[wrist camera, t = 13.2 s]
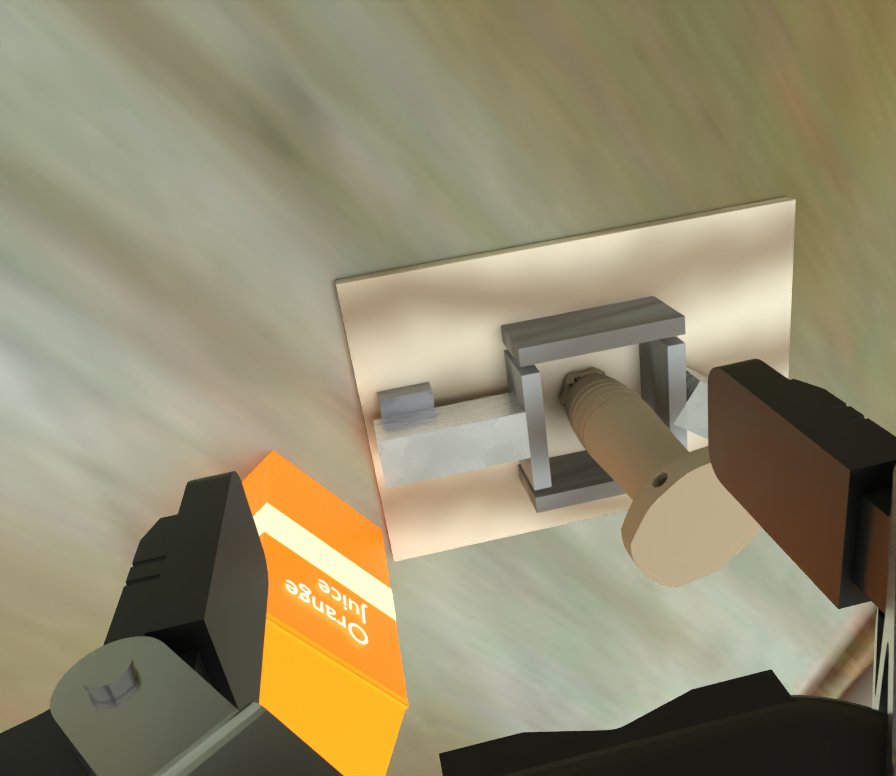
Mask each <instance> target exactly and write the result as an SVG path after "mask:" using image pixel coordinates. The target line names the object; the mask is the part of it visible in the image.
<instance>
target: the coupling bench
mask: <svg viewBox="0 0 896 776" xmlns="http://www.w3.org/2000/svg"><path fill="white" fill-rule="evenodd" d="M795 201H796V200H795V199H791V198H787V197H783V198H777V199H772V200H766V201H761V202H756V203H750V204H745V205H739V206H734V207H728V208H723V209H718V210H712V211H707V212H701V213H696V214H691V215H685V216H680V217H674V218H669V219H663V220H658V221H653V222H647V223H642V224H636V225H631V226H625V227H620V228H615V229H609V230H604V231H598V232H593V233H588V234H582V235H577V236H571V237H566V238H560V239H555V240H550V241H544V242H539V243H533V244H528V245H522V246H517V247H512V248H506V249H501V250H495V251H490V252H485V253H479V254H474V255H468V256H463V257H457V258H452V259H447V260H441V261H436V262H430V263H425V264H420V265H414V266H409V267H403V268H398V269H392V270H387V271H382V272H376V273H371V274H365V275H360V276H354V277H349V278H344V279H338V280H335V283H336V288H337V293H338V298H339V303H340V307H341V312H342V317H343V321H344V326H345V331H346V336H347V340H348V345H349V350H350V355H351V359H352V364H353V369H354V374H355V378H356V383H357V388H358V392H359V397H360V402H361V407H362V411H363V416H364V421H365V426H366V430H367V435H368V440H369V445H370V449H371V454H372V459H373V463H374V468H375V473H376V478H377V482H378V487H379V492H380V497H381V501H382V506H383V511H384V515H385V520H386V525H387V530H388V534H389V539H390V544H391V549H392V553H393V558H394V562H396V561H400V560H405V559H409V558H414V557H418V556H423V555H427V554H432V553H436V552H441V551H445V550H450V549H454V548H459V547H463V546H468V545H472V544H477V543H481V542H486V541H490V540H495V539H499V538H504V537H508V536H513V535H518V534H522V533H527V532H531V531H536V530H540V529H545V528H549V527H554V526H558V525H563V524H567V523H572V522H576V521H581V520H585V519H590V518H594V517H599V516H603V515H608V514H612V513H617V512H621V511H626V510H629V508H630V506H631V504H632V502H633V500H632V499H631V498H630V497H629V496H628V495H627V494H626V493H625V491H624V490H623V489H622V488H621V487H620V486H619V485H618V484H617V483H616V482H615V481H614V480H613V479H612V478H611V477H610V475H609V474H608V473H607V472H606V471H605V470H604V469H603V468H602V467H601V466H600V465H599V464H598V463H597V462H596V461H595V460H594V459H593V458H592V457H591V456H590V454H589V453H588V452H587V451H586V449H585V448H584V447H583V445H582V444H581V442H580V441H579V439H578V438H577V436H576V434H575V432H574V431H573V429H572V427H571V425H570V422H569V420H568V417H567V414H566V412H564V411H563V409H562V407H561V405H560V401H559V398H560V396H561V395H562V393H563V392H564V389H565V378H566V377H567V376H568V375H569V374H570V373H572V372H574V373H580V372H584V371H586V370H588V369H589V368H591V367H595V368H598V369H600V370H602V371H604V372H605V373H606V376H609V377H611V378H614V379H616V380H617V381H619V382H621V383H623V384H624V385H626V386H627V387H629V388H630V389H631V390H633V391H634V392H635V393H636V394H637V395H639V396H640V397H641V398H642V399H643V400H644V401H645V402H646V403H647V404H648V405H649V406H650V407H651V408H652V409H653V411H654V412H655V413H656V414H657V415H658V417H659V418H660V419H661V420H662V421H663V422H664V424H665V425H666V426H667V427H668V428H669V430H670V431H671V432H672V433H673V434H674V436H675V437H676V438H677V439H678V440H679V441H680V442H681V443H682V444H683V445H684V447H685V448H686V449H687V450H688V451H689V452H691V451H694V450H697V449H700V448H703V447H706V446H708V439H706V438H704V437H702V436H700V435H697V434H695V433H693V432H690V431H688V430H686V429H685V428H681V427H679V426H677V425H674V422H675V421H676V419H677V417H678V416H679V415H680V413H681V411H682V409H683V410H685V408H684V406H685V405H686V403H687V396H686V367H688V368H690V369H692V370H694V371H696V372H698V373H700V374H702V375H705V376H707V377H708V376H709V373H710V371H711V369H712V368H714V367H718V366H723V365H727V364H732V363H736V362H741V361H746V360H750V359H756V358H757V359H760V360H762V361H763V362H765V363H766V364H768V365H769V366H770V367H772V368H773V369H775V370H776V371H778V372H779V373H780V374H782V375H783V376H785V377H786V378H788V370H789V346H790V322H791V297H792V273H793V249H794V225H795ZM425 382H429V384H430V386H431V389H432V394H433V400H434V406H435V407H440V406H445V405H450V404H455V403H460V402H465V401H470V400H475V399H480V398H485V397H490V396H495V395H500V394H504V393H509V392H513V393H514V394H515V396H516V398H517V399H518V401H519V402H520V404H521V406H522V407H523V409H524V410H525V412H526V420H527V429H528V438H529V447H530V455H531V458H528V459H523V460H518V461H514V462H509V463H504V464H499V465H495V466H490V467H485V468H480V469H476V470H471V471H466V472H462V473H457V474H452V475H447V476H443V477H438V478H433V479H429V480H424V481H419V482H414V483H410V484H405V485H400V486H396V487H391V488H386V484H385V479H384V474H383V469H382V464H381V460H380V455H379V450H378V445H377V440H376V434H375V428H374V423H373V420H376V419H381V418H382V416H381V411H380V406H379V401H378V396H377V392H380V391H385V390H390V389H395V388H400V387H405V386H410V385H415V384H420V383H425ZM686 410H687V409H686ZM685 412H686V411H685ZM683 414H685V413H683ZM682 416H683V415H682ZM681 418H682V417H681ZM686 418H687V417H686ZM677 420H678V419H677ZM683 422H684V420H683ZM677 423H678V422H677ZM677 423H676V424H677ZM680 424H681V423H680ZM682 425H683V424H682ZM683 426H684V425H683Z"/></svg>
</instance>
